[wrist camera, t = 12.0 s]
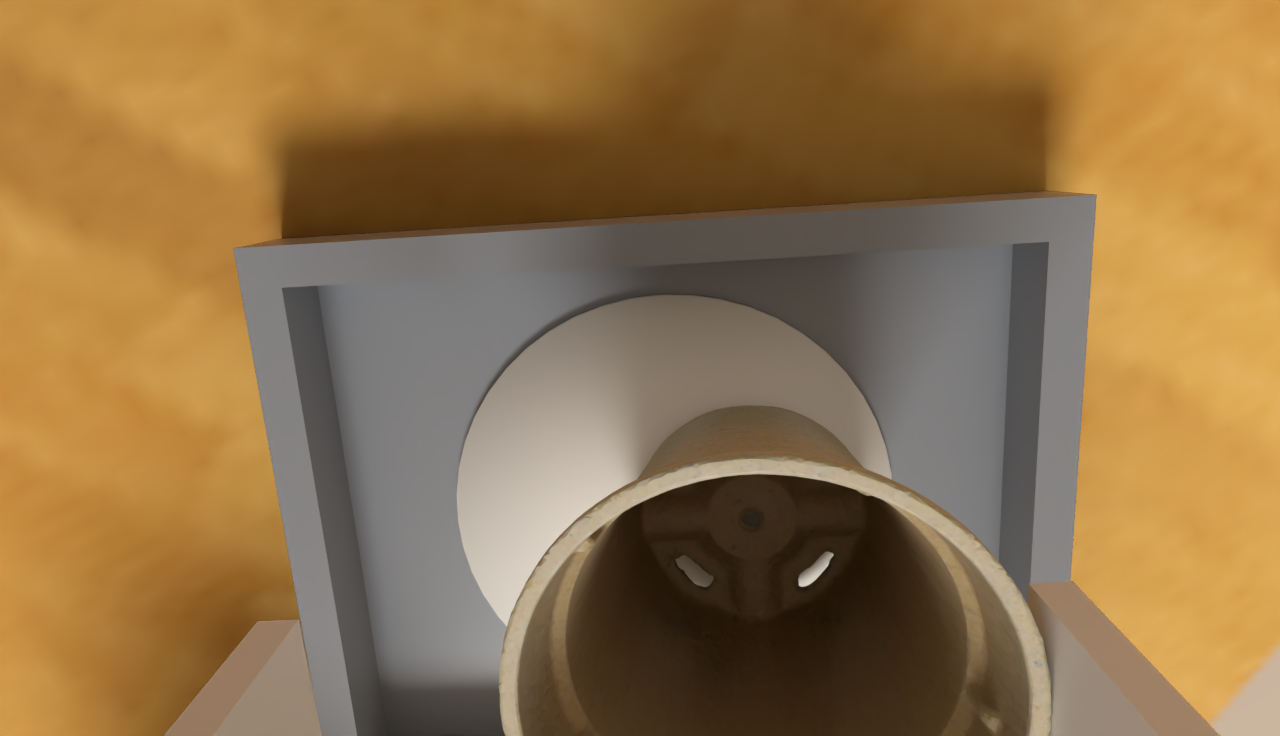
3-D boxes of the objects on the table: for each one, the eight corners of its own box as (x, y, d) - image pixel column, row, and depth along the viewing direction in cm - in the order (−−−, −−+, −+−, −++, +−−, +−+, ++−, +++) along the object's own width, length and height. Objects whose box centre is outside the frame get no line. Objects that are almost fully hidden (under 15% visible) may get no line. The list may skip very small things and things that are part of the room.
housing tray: (280, 238, 22) (233, 248, 20) (1046, 190, 21) (1096, 194, 19) (366, 754, 26) (335, 815, 23) (1018, 731, 25) (1055, 792, 23)
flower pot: (539, 605, 24) (444, 845, 16) (630, 295, 21) (574, 383, 13) (853, 703, 24) (926, 999, 15) (980, 403, 21) (1150, 561, 13)
